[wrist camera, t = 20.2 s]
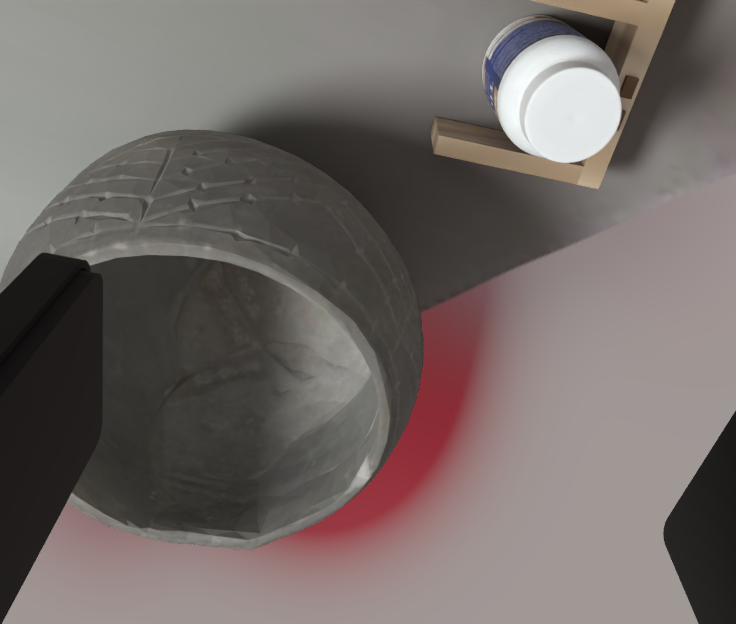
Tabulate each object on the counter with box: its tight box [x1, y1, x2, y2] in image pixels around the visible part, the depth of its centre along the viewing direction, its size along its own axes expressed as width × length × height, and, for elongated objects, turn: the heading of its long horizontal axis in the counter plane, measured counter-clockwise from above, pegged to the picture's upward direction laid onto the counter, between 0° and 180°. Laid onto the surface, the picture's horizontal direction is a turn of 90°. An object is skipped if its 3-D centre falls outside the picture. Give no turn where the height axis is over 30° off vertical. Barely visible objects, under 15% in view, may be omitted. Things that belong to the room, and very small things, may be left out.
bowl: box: [0, 130, 423, 550], centre depth 37 cm, size 21×21×15 cm
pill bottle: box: [482, 15, 622, 163], centre depth 32 cm, size 5×5×10 cm
